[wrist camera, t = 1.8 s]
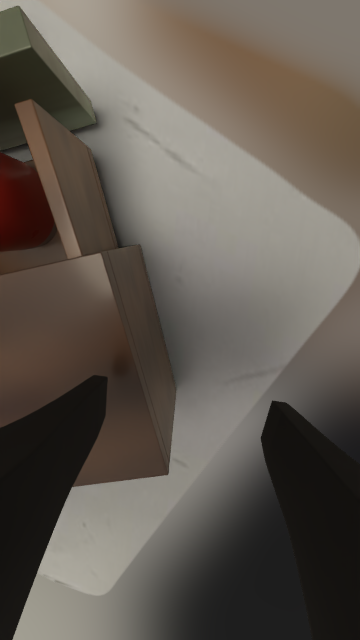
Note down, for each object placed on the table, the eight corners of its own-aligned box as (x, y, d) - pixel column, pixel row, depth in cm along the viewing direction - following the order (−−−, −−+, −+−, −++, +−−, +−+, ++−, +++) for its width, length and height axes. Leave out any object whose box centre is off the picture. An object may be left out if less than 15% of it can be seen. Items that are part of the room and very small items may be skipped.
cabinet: (-19, 280, 20) (-160, 311, 12) (140, 244, 19) (101, 251, 11) (41, 410, 24) (-36, 500, 16) (176, 388, 23) (168, 475, 15)
